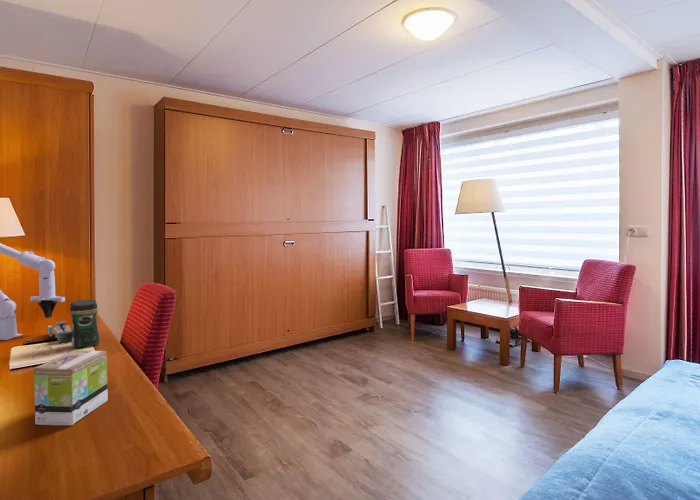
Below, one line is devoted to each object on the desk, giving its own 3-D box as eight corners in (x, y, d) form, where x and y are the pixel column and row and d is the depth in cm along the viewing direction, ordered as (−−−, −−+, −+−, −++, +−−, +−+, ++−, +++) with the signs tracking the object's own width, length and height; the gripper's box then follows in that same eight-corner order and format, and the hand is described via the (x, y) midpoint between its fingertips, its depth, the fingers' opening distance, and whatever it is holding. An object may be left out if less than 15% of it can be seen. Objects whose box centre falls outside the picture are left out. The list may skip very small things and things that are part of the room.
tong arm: (53, 333, 188) (52, 322, 188) (65, 331, 191) (64, 320, 191) (59, 344, 173) (59, 332, 172) (72, 341, 176) (72, 330, 175)
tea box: (74, 426, 105) (71, 368, 104) (34, 426, 106) (30, 368, 104) (109, 400, 120) (107, 349, 119) (74, 400, 121) (72, 349, 119)
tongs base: (57, 333, 189) (56, 323, 189) (68, 331, 192) (68, 322, 191) (60, 343, 173) (60, 333, 173) (73, 342, 176) (72, 332, 175)
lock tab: (48, 334, 186) (48, 325, 186) (51, 334, 187) (51, 325, 186) (49, 336, 183) (48, 327, 183) (52, 336, 184) (52, 326, 183)
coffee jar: (99, 341, 177) (97, 297, 176) (100, 345, 171) (98, 300, 169) (71, 345, 172) (69, 299, 170) (71, 350, 165) (69, 303, 164)
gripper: (24, 288, 184) (25, 319, 185) (56, 288, 183) (57, 319, 184) (37, 285, 191) (38, 315, 192) (67, 286, 190) (69, 316, 191)
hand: (48, 317), depth 188 cm, fingers closed
